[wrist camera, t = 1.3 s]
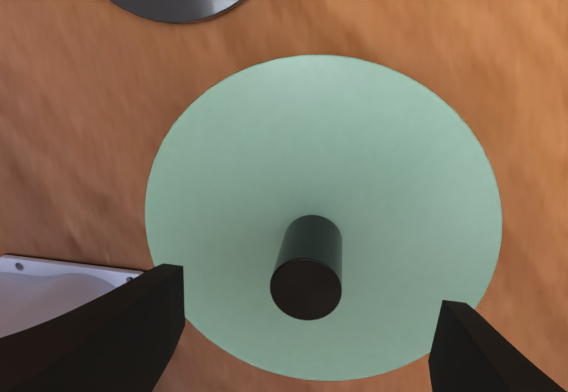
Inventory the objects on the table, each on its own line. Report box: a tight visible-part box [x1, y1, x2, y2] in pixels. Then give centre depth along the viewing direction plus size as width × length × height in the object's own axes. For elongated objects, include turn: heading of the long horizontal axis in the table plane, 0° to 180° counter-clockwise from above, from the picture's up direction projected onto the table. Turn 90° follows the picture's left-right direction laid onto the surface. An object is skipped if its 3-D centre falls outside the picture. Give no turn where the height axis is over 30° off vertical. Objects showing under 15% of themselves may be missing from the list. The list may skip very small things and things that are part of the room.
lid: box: [145, 54, 502, 381], centre depth 15 cm, size 13×13×4 cm
